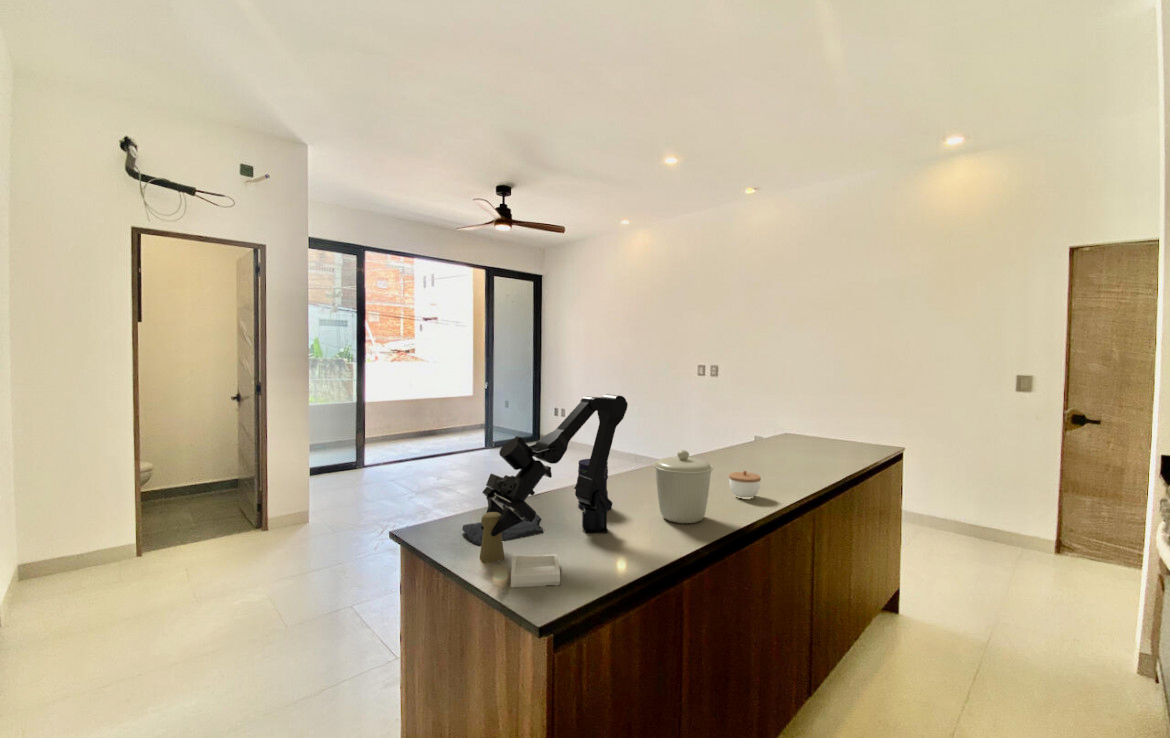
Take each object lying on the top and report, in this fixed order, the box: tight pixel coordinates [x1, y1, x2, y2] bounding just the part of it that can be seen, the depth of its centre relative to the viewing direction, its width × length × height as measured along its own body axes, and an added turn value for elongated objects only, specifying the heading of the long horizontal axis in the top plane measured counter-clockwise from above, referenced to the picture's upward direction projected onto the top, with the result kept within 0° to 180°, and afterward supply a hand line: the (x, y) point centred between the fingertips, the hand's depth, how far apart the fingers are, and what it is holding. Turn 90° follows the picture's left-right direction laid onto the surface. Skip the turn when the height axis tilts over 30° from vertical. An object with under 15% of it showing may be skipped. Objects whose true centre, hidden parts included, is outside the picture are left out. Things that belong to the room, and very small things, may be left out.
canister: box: [652, 449, 714, 524], centre depth 152 cm, size 18×18×21 cm
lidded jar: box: [728, 470, 761, 498], centre depth 175 cm, size 11×11×9 cm
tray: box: [510, 553, 561, 588], centre depth 112 cm, size 11×11×2 cm
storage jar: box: [577, 458, 609, 511], centre depth 163 cm, size 10×10×15 cm
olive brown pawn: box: [479, 512, 505, 564], centre depth 122 cm, size 6×6×11 cm
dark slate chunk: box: [461, 513, 544, 547], centre depth 140 cm, size 15×22×5 cm
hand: (486, 532), depth 121 cm, fingers closed on olive brown pawn, 5 cm apart
